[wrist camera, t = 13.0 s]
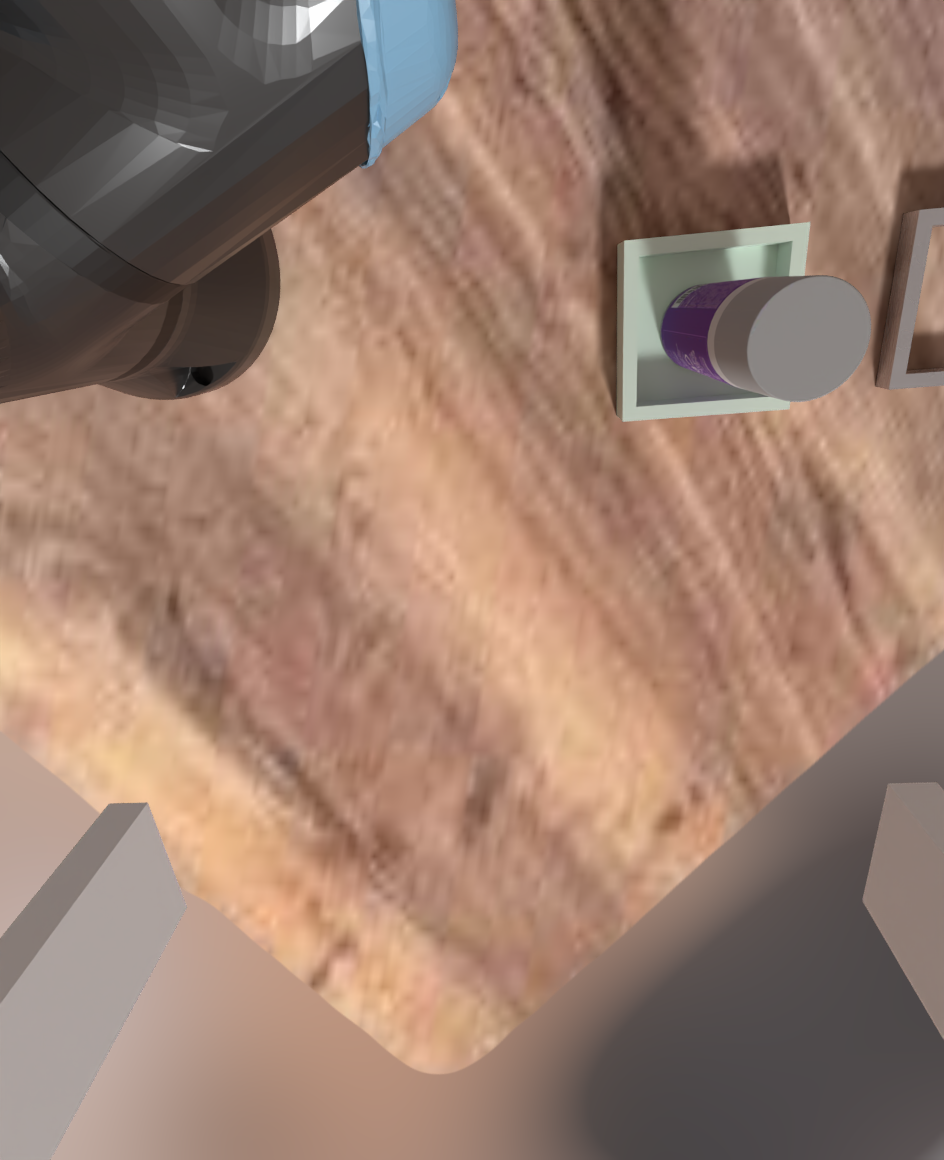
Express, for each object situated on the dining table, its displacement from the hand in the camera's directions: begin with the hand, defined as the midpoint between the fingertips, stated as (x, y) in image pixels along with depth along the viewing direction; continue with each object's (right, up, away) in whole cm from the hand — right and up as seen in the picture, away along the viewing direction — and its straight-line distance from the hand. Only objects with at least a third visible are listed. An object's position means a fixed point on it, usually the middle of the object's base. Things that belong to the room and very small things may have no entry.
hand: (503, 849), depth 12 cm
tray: (+13, +20, +26) cm, 35 cm away
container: (+13, +20, +26) cm, 35 cm away
